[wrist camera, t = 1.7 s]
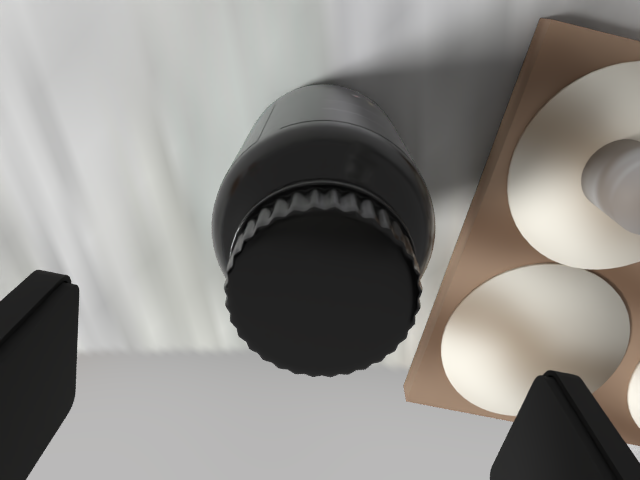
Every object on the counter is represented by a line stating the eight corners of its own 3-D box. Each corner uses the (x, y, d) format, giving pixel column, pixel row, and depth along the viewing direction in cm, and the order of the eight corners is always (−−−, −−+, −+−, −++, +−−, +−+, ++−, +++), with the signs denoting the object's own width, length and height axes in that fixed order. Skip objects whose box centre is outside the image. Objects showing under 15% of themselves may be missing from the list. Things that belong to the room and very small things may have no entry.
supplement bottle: (347, 253, 25) (358, 449, 14) (222, 182, 24) (129, 339, 13) (433, 134, 23) (525, 262, 12) (298, 46, 21) (262, 100, 10)
